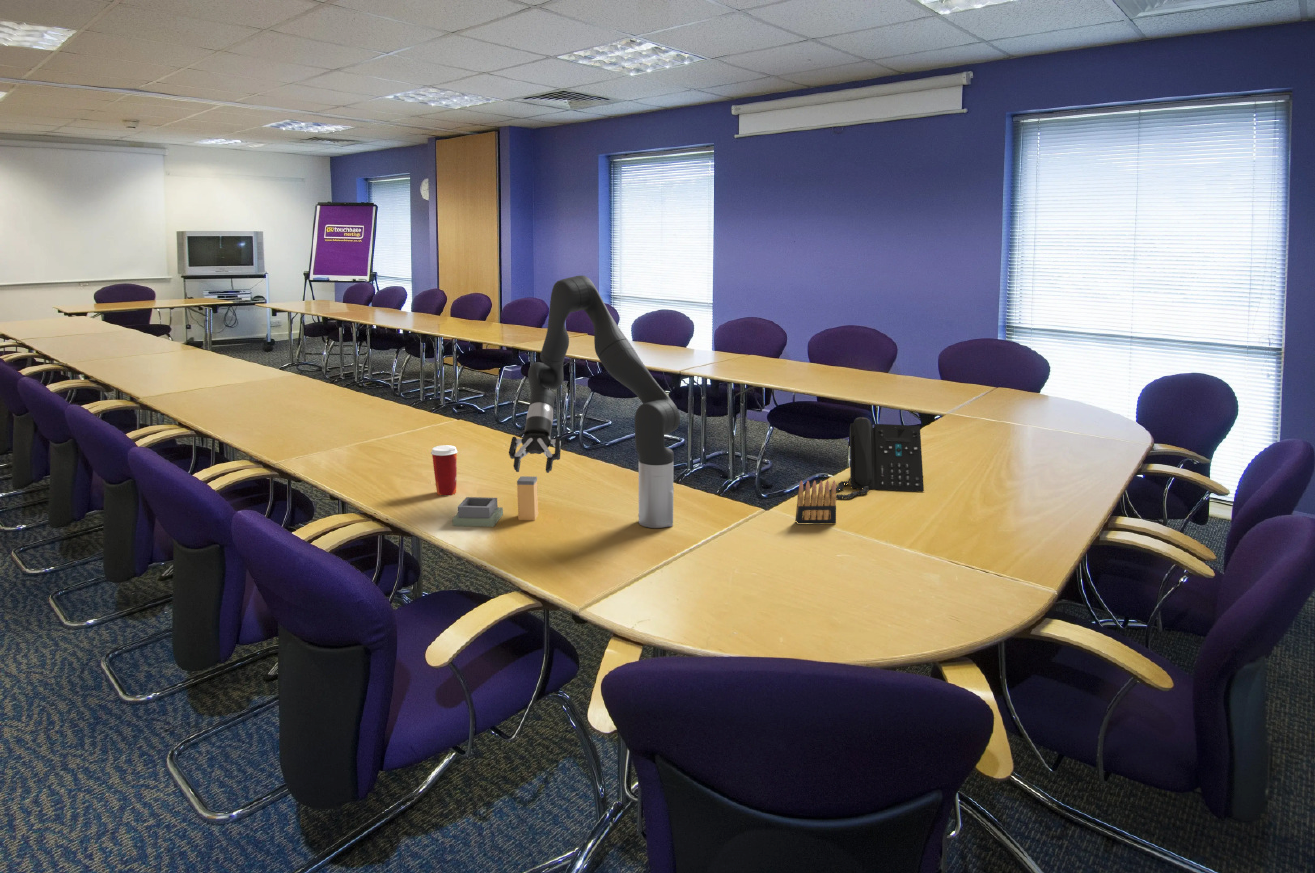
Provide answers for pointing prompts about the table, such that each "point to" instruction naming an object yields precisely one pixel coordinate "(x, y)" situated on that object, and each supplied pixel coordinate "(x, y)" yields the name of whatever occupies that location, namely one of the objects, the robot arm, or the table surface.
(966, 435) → the table surface
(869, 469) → the office phone
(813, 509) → the ammunition clip
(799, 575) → the table surface
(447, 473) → the paper cup
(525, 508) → the grey-capped square pillar
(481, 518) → the grey square tray
